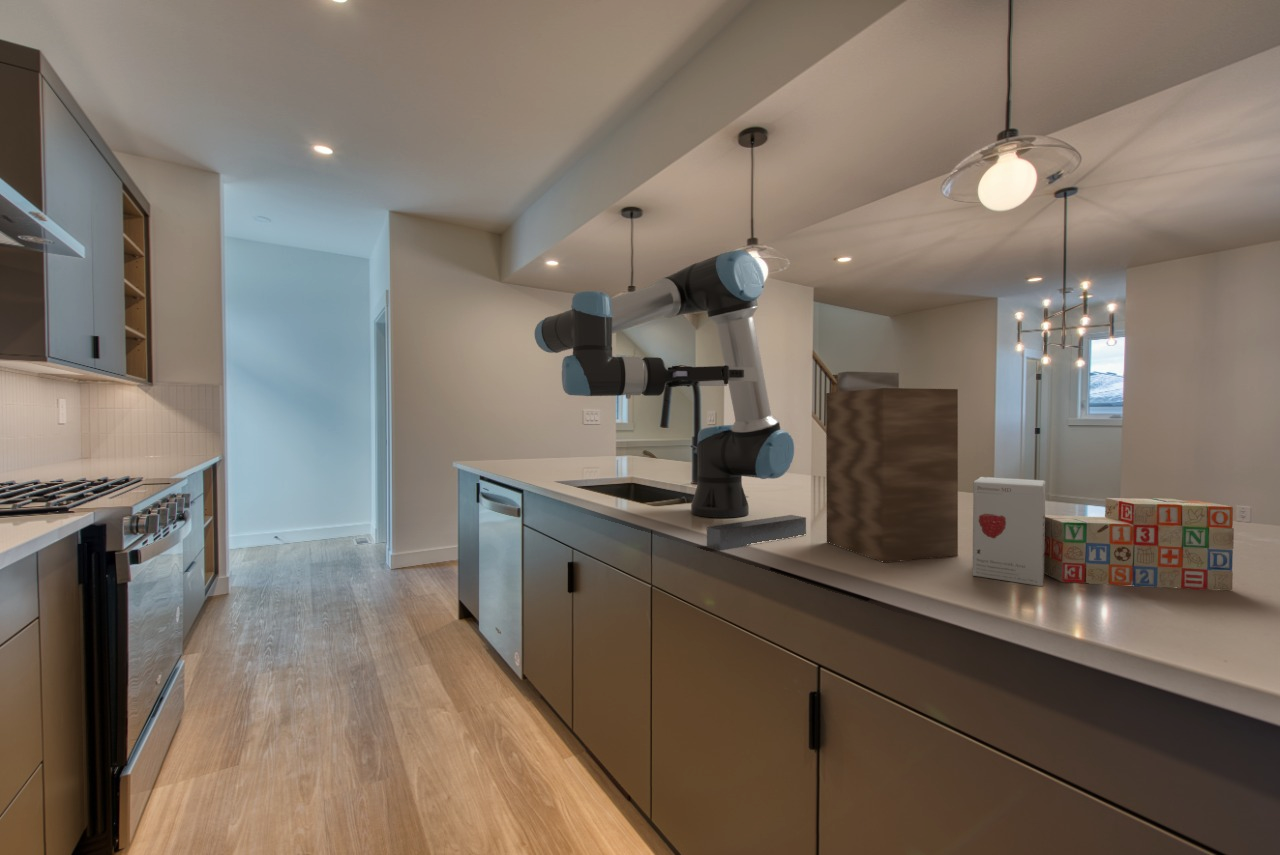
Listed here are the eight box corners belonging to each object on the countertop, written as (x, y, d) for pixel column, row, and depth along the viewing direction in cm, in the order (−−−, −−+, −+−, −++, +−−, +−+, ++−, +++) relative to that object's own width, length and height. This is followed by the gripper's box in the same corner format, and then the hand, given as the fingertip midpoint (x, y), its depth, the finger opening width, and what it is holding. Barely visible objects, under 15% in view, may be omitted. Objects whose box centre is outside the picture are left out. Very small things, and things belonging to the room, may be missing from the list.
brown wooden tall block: (826, 542, 107) (826, 373, 106) (892, 537, 111) (892, 374, 111) (883, 562, 91) (883, 364, 91) (957, 555, 96) (957, 366, 95)
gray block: (805, 517, 113) (791, 514, 117) (720, 530, 101) (706, 526, 104) (806, 536, 114) (791, 532, 117) (720, 551, 101) (706, 547, 104)
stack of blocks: (1061, 583, 79) (1061, 501, 79) (1039, 572, 85) (1039, 495, 85) (1234, 592, 75) (1234, 505, 75) (1197, 579, 81) (1197, 498, 81)
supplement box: (970, 576, 83) (970, 480, 83) (978, 564, 90) (978, 476, 90) (1043, 587, 77) (1043, 484, 77) (1045, 573, 84) (1045, 479, 84)
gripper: (626, 398, 116) (715, 397, 122) (662, 392, 92) (771, 392, 98) (625, 363, 116) (715, 365, 122) (661, 349, 92) (771, 351, 98)
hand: (740, 377), depth 110 cm, fingers open, 13 cm apart
